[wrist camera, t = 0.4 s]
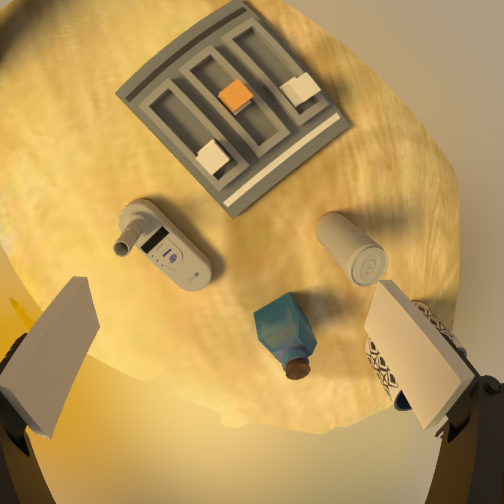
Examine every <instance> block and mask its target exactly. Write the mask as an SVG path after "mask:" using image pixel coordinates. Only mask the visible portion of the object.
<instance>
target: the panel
mask: <svg viewBox="0 0 504 504" xmlns="http://www.w3.org/2000/svg"><path fill="white" fill-rule="evenodd" d="M306 72H307V73H308V74H309V76H310V77H311V78H312V79H313V80H314V82H315V83H316V84H317V85H318V87H319V88H320V89H321V90H320V91H319V92H317V93H316V94H314V95H313V96H312V97H310V98H309V99H307V100H306V101H305V102H302V103H301V104H299V105H298V106H297V107H295V108H294V107H293V106H292V105H291V104H290V102H289V101H288V100H287V99H286V98H285V96H284V95H283V94H282V93H281V92H280V91H279V89H278V88H279V87H280V86H282V85H283V84H285V83H286V82H288V81H289V80H290V79H292V78H293V77H296V78H298V77H299V76H301V75H303V74H304V73H306ZM237 79H239V80H240V81H241V82H242V83H243V85H244V86H245V87H246V88H247V89H248V90H249V91H250V92H251V93H252V95H253V97H252V98H251V100H250V101H251V103H250V104H249V105H248V106H246V107H245V108H244V109H242V110H241V111H240V112H239V113H237V114H236V115H235V116H234V115H233V114H232V112H231V111H230V110H229V109H228V108H227V107H226V106H225V105H224V104H223V103H222V102H221V100H220V99H219V98H218V97H217V96H218V95H219V93H220V92H221V91H222V90H224V89H225V88H226V87H227V86H229V85H230V84H231V83H233V82H234V81H235V80H237ZM115 94H116V95H117V96H118V97H119V98H120V99H121V100H122V101H123V102H124V103H125V104H126V106H127V107H128V108H129V109H130V110H131V111H132V112H133V113H134V114H135V115H136V116H137V117H138V118H139V119H140V120H141V121H142V122H143V123H144V124H145V126H146V127H147V128H148V129H149V130H150V131H151V132H152V133H153V134H154V135H155V136H156V137H157V138H158V139H159V140H160V141H161V142H162V144H163V145H164V146H165V147H166V148H167V149H168V150H169V151H170V152H171V153H172V154H173V155H174V156H175V157H176V158H177V159H178V161H179V162H180V163H181V164H182V165H183V166H184V167H185V168H186V169H187V170H188V171H189V172H190V173H191V174H192V175H193V177H194V178H195V179H196V180H197V181H198V182H199V183H200V184H201V185H202V186H203V187H204V188H205V189H206V190H207V192H208V193H209V194H210V195H211V196H212V197H213V198H214V199H215V200H216V201H217V202H218V203H219V204H220V205H221V207H222V208H223V209H224V210H225V211H226V212H227V213H228V214H229V215H230V216H231V217H232V218H233V219H234V218H235V217H236V216H237V215H239V214H240V213H241V212H242V211H243V210H244V209H246V208H247V207H248V206H249V205H251V204H252V203H253V202H254V201H255V200H257V199H258V198H259V197H260V196H261V195H263V194H264V193H265V192H266V191H268V190H269V189H270V188H271V187H273V186H274V185H275V184H276V183H277V182H279V181H280V180H281V179H282V178H284V177H285V176H286V175H287V174H289V173H290V172H291V171H292V170H294V169H295V168H296V167H298V166H299V165H300V164H301V163H303V162H304V161H305V160H306V159H308V158H309V157H310V156H312V155H313V154H314V153H315V152H317V151H318V150H319V149H321V148H322V147H323V146H324V145H326V144H327V143H328V142H330V141H331V140H332V139H334V138H335V137H336V136H338V135H339V134H340V133H341V132H343V131H344V130H345V129H347V128H348V127H349V126H350V125H349V124H348V122H347V121H346V119H345V118H344V116H343V115H342V114H341V112H340V111H339V109H338V108H337V107H336V105H335V104H334V102H333V101H332V100H331V98H330V97H329V96H328V94H327V93H326V92H325V91H324V89H323V88H322V87H321V85H320V84H319V83H318V82H317V80H316V79H315V78H314V77H313V75H312V74H311V73H310V72H309V70H308V69H307V68H306V67H305V66H304V64H303V63H302V62H301V61H300V60H299V59H298V58H297V56H296V55H295V54H294V53H293V52H292V51H291V50H290V49H289V47H288V46H287V45H286V44H285V43H284V42H283V41H282V40H281V39H280V38H279V37H278V36H277V35H276V34H275V33H274V32H273V30H272V29H271V28H270V27H269V26H268V25H267V24H266V23H265V22H263V21H262V20H261V19H260V18H259V17H258V16H257V15H256V14H255V13H254V12H253V11H252V10H251V9H250V8H249V7H248V6H246V5H245V4H244V3H243V2H242V1H241V0H232V1H231V2H229V3H227V4H226V5H224V6H222V7H221V8H219V9H217V10H216V11H214V12H213V13H211V14H210V15H208V16H207V17H205V18H204V19H202V20H201V21H199V22H198V23H196V24H195V25H193V26H192V27H191V28H189V29H188V30H186V31H185V32H184V33H182V34H181V35H180V36H178V37H177V38H176V39H174V40H173V41H172V42H171V43H169V44H168V45H167V46H166V47H164V48H163V49H162V50H161V51H160V52H158V53H157V54H156V55H155V56H154V57H152V58H151V59H150V60H149V61H148V62H147V63H146V64H145V65H143V66H142V67H141V68H140V69H139V70H138V71H137V72H136V73H135V74H134V75H133V76H132V77H131V78H130V79H129V80H127V81H126V82H125V83H124V84H123V85H122V86H121V87H120V88H119V89H118V91H117V92H116V93H115ZM212 139H214V140H215V141H216V142H217V143H218V145H219V146H220V147H221V148H222V149H223V150H224V151H225V152H226V153H227V155H228V156H229V157H230V159H229V161H228V162H226V163H225V164H224V165H223V166H222V167H221V168H219V169H218V170H217V171H216V172H215V173H214V174H213V175H210V174H209V173H208V171H207V170H206V169H205V168H204V167H203V166H202V165H201V164H200V163H199V162H198V161H197V160H196V157H197V156H198V154H197V152H199V151H200V150H201V149H202V148H203V147H204V146H205V145H207V144H208V143H209V142H210V141H211V140H212Z"/></svg>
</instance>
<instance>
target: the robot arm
mask: <svg viewBox="0 0 504 504" xmlns="http://www.w3.org/2000/svg"><path fill="white" fill-rule="evenodd" d="M99 328H100V325H99V322H98V318H97V315H96V311H95V308H94V304H93V300H92V296H91V292H90V288H89V284H88V280H87V277H75V276H73V277H72V278H71V280H70V281H69V282H68V283H67V284H66V285H65V287H64V288H63V289H62V290H61V291H60V293H59V294H58V295H57V296H56V297H55V299H54V300H53V301H52V302H51V304H50V305H49V306H48V307H47V309H46V310H45V311H44V313H43V314H42V315H41V317H40V318H39V319H38V321H37V322H36V323H35V325H34V326H33V327H32V329H31V330H30V331H29V333H24V334H23V335H22V336H21V337H19V338H18V339H17V340H16V341H15V343H14V344H13V345H12V347H11V348H10V351H8V352H7V354H6V356H5V358H3V360H2V362H1V363H0V504H56V503H55V501H54V499H53V497H52V495H51V493H50V491H49V488H48V486H47V484H46V482H45V480H44V477H43V475H42V472H41V470H40V467H39V465H38V462H37V460H36V457H35V454H34V451H33V448H32V446H31V442H30V439H29V436H28V435H27V433H26V431H25V429H26V426H27V425H28V426H29V428H30V429H31V430H32V431H33V432H34V433H35V434H37V435H40V436H42V437H45V438H47V439H51V438H52V435H53V432H54V429H55V426H56V424H57V421H58V418H59V415H60V413H61V411H62V408H63V406H64V403H65V401H66V398H67V396H68V394H69V391H70V389H71V387H72V384H73V382H74V380H75V377H76V375H77V373H78V371H79V369H80V366H81V364H82V362H83V360H84V358H85V356H86V354H87V352H88V350H89V348H90V346H91V344H92V342H93V340H94V338H95V336H96V334H97V332H98V330H99ZM364 329H365V330H366V332H367V333H368V335H369V337H370V338H371V340H372V341H373V343H374V345H375V346H376V348H377V349H378V351H379V353H380V354H381V356H382V358H383V359H384V361H385V363H386V364H387V366H388V368H389V369H390V371H391V373H392V374H393V376H394V378H395V379H396V381H397V383H398V385H399V386H400V388H401V390H402V391H403V393H404V395H405V397H406V399H407V400H408V402H409V404H410V406H411V407H412V409H413V411H414V413H415V415H416V416H417V418H418V420H419V422H420V424H421V426H422V428H423V429H424V430H425V429H427V428H430V427H432V426H434V425H436V424H438V423H439V422H440V420H441V419H442V418H443V417H444V416H445V415H447V417H448V420H447V422H446V423H445V424H444V425H443V426H442V427H441V428H440V429H439V430H438V431H437V433H436V435H435V437H438V435H439V434H440V433H441V432H442V431H444V432H443V435H442V436H441V437H440V438H442V443H441V448H440V452H439V456H438V461H437V465H436V469H435V472H434V476H433V480H432V483H431V486H430V490H429V493H428V496H427V499H426V502H425V504H504V383H500V382H499V381H498V380H497V379H495V378H494V377H492V376H487V375H485V376H482V377H481V376H480V375H479V373H478V372H477V371H476V370H475V369H474V367H473V366H472V365H471V363H470V362H469V361H468V360H467V358H466V357H465V356H464V355H463V354H461V351H460V350H459V349H458V348H456V345H455V344H454V343H453V342H452V340H451V339H450V338H449V337H447V336H446V335H444V334H443V333H441V332H439V331H438V330H437V329H436V328H435V327H434V326H433V324H432V323H431V322H430V321H429V320H428V319H427V318H426V317H425V315H424V314H423V313H422V312H421V311H420V310H419V309H418V308H417V307H416V306H415V305H414V303H413V302H412V301H411V300H410V299H409V298H408V297H407V296H406V295H405V294H404V293H403V292H402V291H401V290H400V289H399V288H398V286H397V285H396V284H395V283H394V282H393V281H392V280H378V283H377V287H376V290H375V293H374V297H373V300H372V303H371V306H370V310H369V313H368V316H367V319H366V322H365V325H364Z"/></svg>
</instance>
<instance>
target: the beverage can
mask: <svg viewBox="0 0 504 504" xmlns="http://www.w3.org/2000/svg"><path fill="white" fill-rule="evenodd" d="M316 236H317V238H318V240H319V241H320V242H321V244H322V245H323V246H324V247H325V249H326V250H327V251H328V252H329V253H330V255H331V256H332V257H333V259H334V260H335V261H336V262H337V264H338V265H339V266H340V268H341V269H342V270H343V272H344V273H345V274H346V275H347V277H348V278H349V279H350V280H351V281H352V282H353V283H355V284H356V285H358V286H361V287H368V286H371V285H374V284H375V283H377V282H378V280H380V279H381V278H382V277H383V276H384V274H385V272H386V270H387V267H388V257H387V254H386V253H385V252H384V250H383V249H382V247H381V246H380V245H378V244H377V243H376V242H375V241H374V240H372V239H371V238H370V237H369V236H368V235H366V234H365V233H364V232H363V231H361V230H360V229H359V228H358V227H357V226H355V225H354V224H353V223H351V222H350V221H349V220H348V219H346V218H345V217H344V216H343V215H341V214H339V213H336V212H331V213H327V214H325V215H324V216H322V217H321V218H320V219H319V221H318V222H317V225H316Z"/></svg>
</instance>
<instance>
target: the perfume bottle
mask: <svg viewBox="0 0 504 504" xmlns="http://www.w3.org/2000/svg"><path fill="white" fill-rule="evenodd" d="M254 318H255V323H256V329H257V334H258V340H259V341H260V342H261V343H262V344H263V345H264V346H265V347H266V348H267V349H268V350H269V351H270V352H271V353H272V354H273V355H274V356H275V357H276V359H277V360H278V361H279V362H280V363H282V367H283V370H284V371H285V372H286V376H287V378H289V379H291V380H298V379H301V378H304V377H305V376H307V375H308V374H309V372H310V367H309V360H308V356H310V355H312V353H313V351H314V349H315V347H316V344H317V341H316V339H315V337H314V334H313V332H312V329H311V327H310V325H309V322H308V320H307V318H306V316H305V315H304V313H303V312H302V311H301V309H300V308H299V306H298V305H297V304H296V302H295V301H294V299H293V298H292V297H291V295H290V294H289V293H286V294H285V295H283V296H281V297H280V298H278V299H276V300H275V301H273V302H271V303H270V304H268V305H266V306H264V307H263V308H261V309H259V310H258V311H256V312H254Z"/></svg>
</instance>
